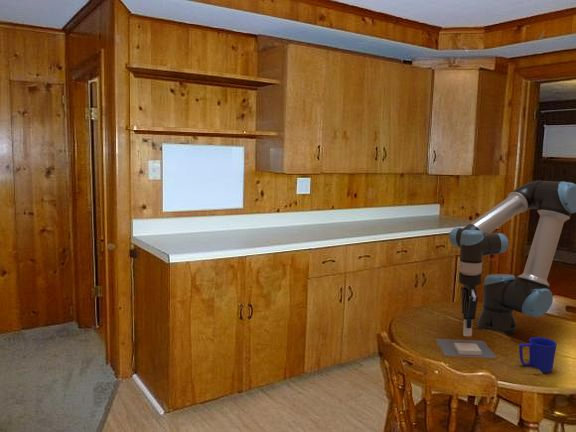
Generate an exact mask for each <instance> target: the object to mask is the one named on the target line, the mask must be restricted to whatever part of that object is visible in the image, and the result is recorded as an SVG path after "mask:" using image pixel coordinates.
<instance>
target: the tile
mask: <svg viewBox="0 0 576 432" xmlns="http://www.w3.org/2000/svg"><path fill="white" fill-rule="evenodd" d="M454 348H455V350H456V351H457V353H458V354H459V355H481V356H482V351H481V349H480V348H479V347H478V345H477V344H472V343H454Z"/></svg>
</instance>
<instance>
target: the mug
mask: <svg viewBox="0 0 576 432" xmlns="http://www.w3.org/2000/svg"><path fill="white" fill-rule="evenodd" d="M528 341H529V343H527V342H526V343H519V346H518V347H519V348H518V352H519V354H518V355H519V359H520V362H521V365H523V366H526V367H528V366H531V367H533V368H535V369H537V370H539V371H540V372H541V373H542V374H543V373H544V374H545V373H546V374H547V373H550V372H552V370H553V367H554V362H555V356H556V355H555V354H556V350H557V342H556V341H555V340H552V339H549V338H547V337H539V336H533V337H530V338H529V340H528ZM524 347H529V351H528V353H529V354H528V355H529V362H528V363H525V362H524V356H523V348H524Z"/></svg>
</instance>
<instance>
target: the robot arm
mask: <svg viewBox="0 0 576 432" xmlns="http://www.w3.org/2000/svg"><path fill="white" fill-rule="evenodd" d="M533 209H537V210H536V211H537V213H538V215H539V219H538V222H537V226H536V230H535V233H534V236H533V238H532V239H533V240H532V243H531V246H530V248H529V249H530V250H529V251H528V257H527V258H526V259H527V260H526V263H525V266H524V268H523V269H524V270H523V272H522V273H521V274H519V275H518V276H517V278H516V275H514V274H506V273H496V274H495V273H494V274H488V275H486V276H485V277H484V283H483V295H482V296H483V299H482V310H481V312H480V314H479V317H478V319H477V324H476V325H477V326H476V327H477V328H478V329H479V330H484V331H485V330H486V331H487V330H488V331H489V330H490V331H493V332H494V331H495V332H501V333H504V335H513V334H515V333H516V332H517V328H518V327H517V323H516V318H515V316H514V311H515V312H517V313H521V314H524V315H526V316H531V317H533V318H538V317H543V316H544V315H546V313H548V311H550V309H551V307H552V304H553V301H554V299H553V295H554V294H553V293H552V291H551V290H550V283H549V282H548V277H549V274H550V270H551V267H552V263H553V261H554V256H555V254H556V251H557V247H558V244H559V240H560V237H561V234H562V230H563V228H564V227H563V226H564V223H565V222H567V221H568V220H570V219H571V216H572V214H575V213H576V183H573V182H570V181H568V182H567V181H563V180H562V181H557V180H556V181H553V180H551V181H549V180H533V181H531V182H527V183H526V184H523V185H521V186H519V187H517V188H516V189H514V190H512V191H511V192H509V193H508V194H507V196H506V198H505V199H503V200H502V201H501V202H499V203H498V204H496V205H494V207H492V208H491V209H489V210H488V211H485V213H483V214H482V215H480V216H479V217H477V218H475V219H474V220H473V221H471V222H470V223H469V224H467V225H465V226H464V227H455V228H452V229H451V231H450V232H449V235H448V240H449V243H450V244H451V245H452V246H454V247H456V248H459V250H460V251H459V263H458V264H457V265H458V267H459V273H458V283H459V284H461V285H463V286H461V288H460V292H461V313H462V315H463V317H462V318H463V319H462V320H463V324H462V325H463V328H462V329H463V331H462V335H463V337H472V336H473V321H474V320H475V319H476V311H477V306H478V301H479V296H478V295H477V292H478V291H477V289H476V287H477V286H480V285H481V284H482V271H483V257H484V256H489V255H499V254H502V253H505V252H506V251H507V250H508V248H509V240H508V237H507V236H506V235H505V234H504V233H500V232H497V233H496V232H494V231H495V230H496V229H497V230H498V228H499V227H501V226H502V225H504V224H506V222H509V220H511V219H512V218H513V217H515V216H517V215H518V214H522V213H526V211H528V210H533ZM492 232H494V233H492Z"/></svg>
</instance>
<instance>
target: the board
mask: <svg viewBox="0 0 576 432" xmlns="http://www.w3.org/2000/svg"><path fill="white" fill-rule="evenodd" d="M435 340H436V342H437V344H438V346H439V348H440V350H441V351H442V353H443V356H447V357H448V356H449V357H463V358H464V357H465V358H466V357H467V358H468V357H469V358H485V359H486V358H491V359H498V357H497V356H496V354H495V353H494V352H493V350H492V349H490V348H489V346H488V345H487V343H486V342H485V341H484V340H473V339H471V340H469V339H447V338H435ZM454 343H472V344H477V345H478V347H479V348H480V349H481V351H482V356H481V355H459V354H458V353H457V351H456V350H455V348H454Z"/></svg>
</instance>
